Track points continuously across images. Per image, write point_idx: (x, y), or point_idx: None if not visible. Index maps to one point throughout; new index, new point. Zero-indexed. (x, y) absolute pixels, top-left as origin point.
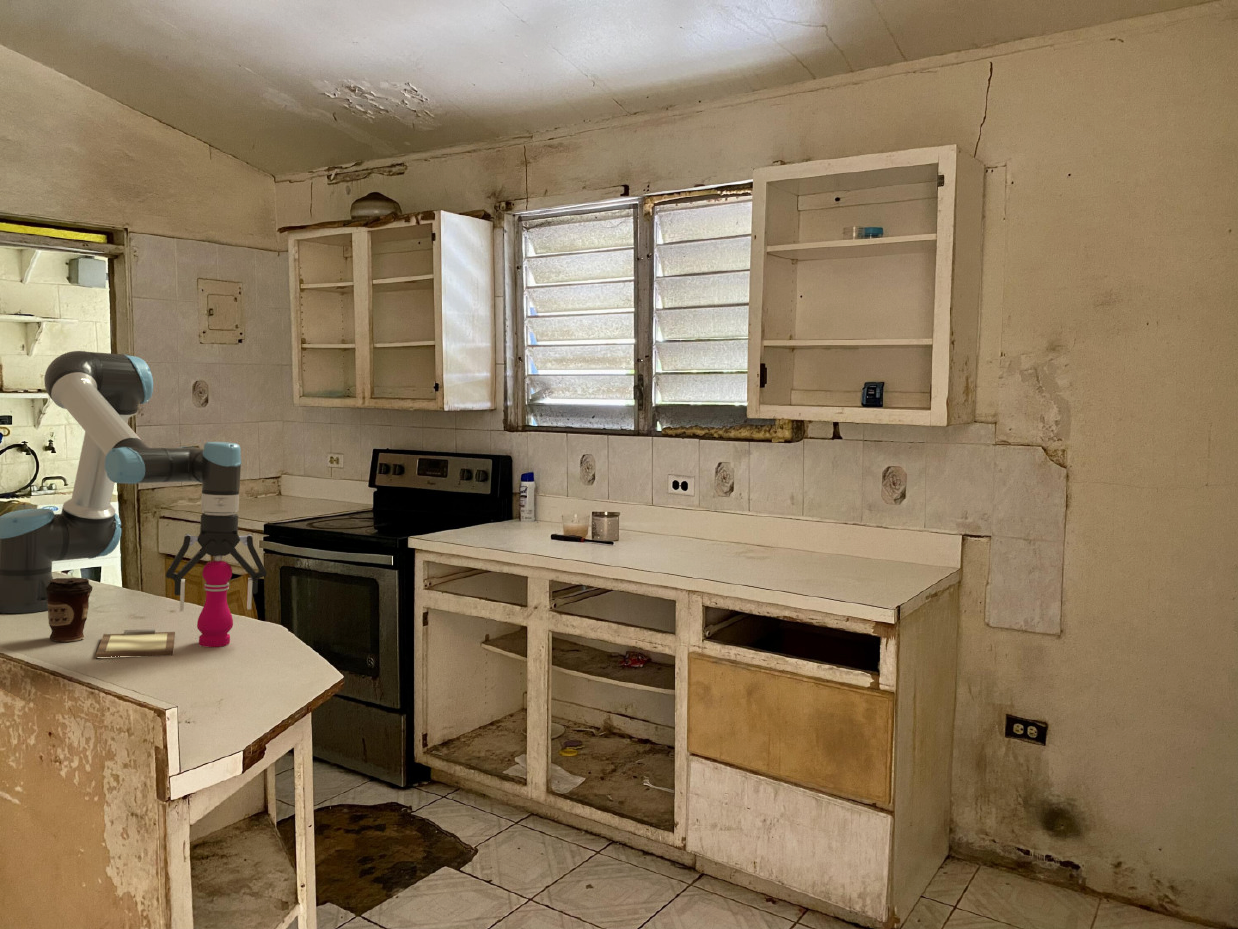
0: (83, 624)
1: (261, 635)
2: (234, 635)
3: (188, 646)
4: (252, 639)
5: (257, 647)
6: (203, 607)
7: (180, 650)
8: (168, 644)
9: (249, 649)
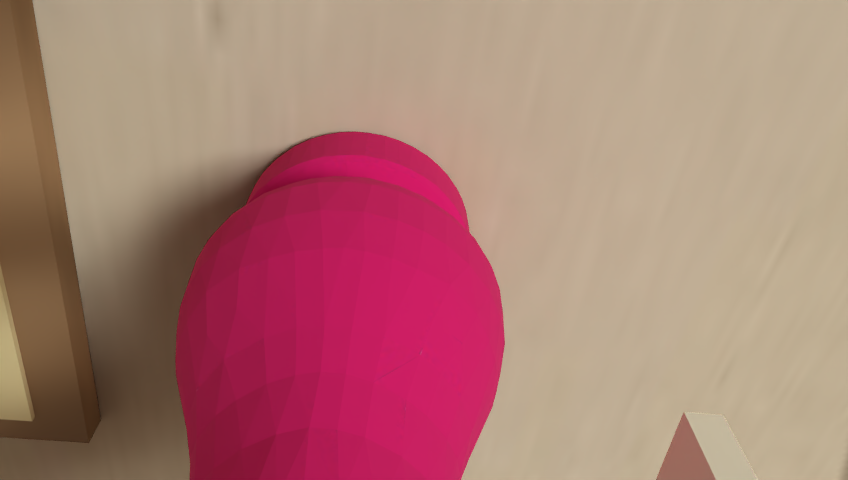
0: None
1: (770, 72)
2: (556, 7)
3: (175, 253)
4: (653, 181)
5: (613, 377)
6: (189, 452)
7: (131, 331)
8: (27, 311)
9: (553, 404)
